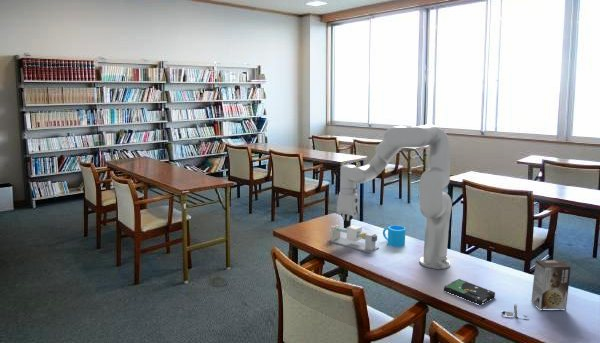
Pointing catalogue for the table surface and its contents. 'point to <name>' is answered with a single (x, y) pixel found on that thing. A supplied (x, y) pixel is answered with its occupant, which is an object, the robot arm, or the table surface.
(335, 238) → the cord rig
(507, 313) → the strap clip
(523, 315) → the table surface
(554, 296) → the coffee box
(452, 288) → the disk drive
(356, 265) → the table surface
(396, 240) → the mug
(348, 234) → the sleeve
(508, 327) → the table surface
